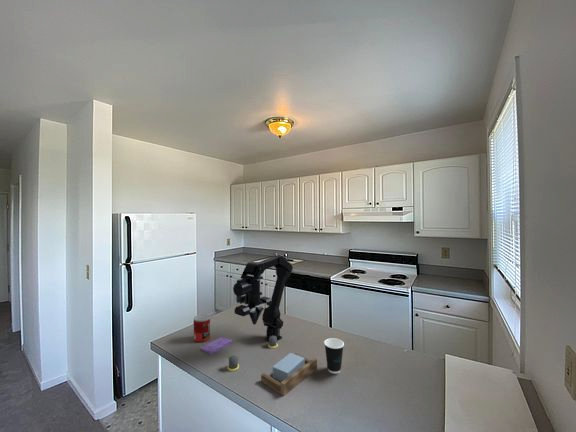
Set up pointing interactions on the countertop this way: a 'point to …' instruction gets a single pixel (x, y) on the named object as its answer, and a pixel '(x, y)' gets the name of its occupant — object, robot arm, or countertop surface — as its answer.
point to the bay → (291, 377)
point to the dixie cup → (334, 354)
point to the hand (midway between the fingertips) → (254, 324)
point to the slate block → (287, 366)
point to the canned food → (201, 328)
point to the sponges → (216, 345)
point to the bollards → (234, 359)
